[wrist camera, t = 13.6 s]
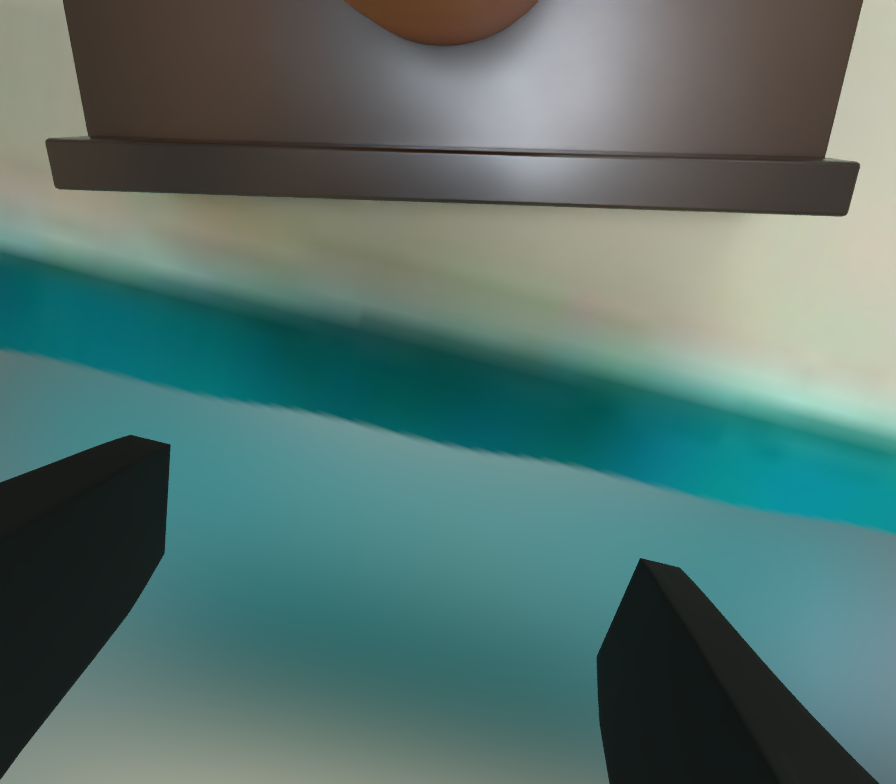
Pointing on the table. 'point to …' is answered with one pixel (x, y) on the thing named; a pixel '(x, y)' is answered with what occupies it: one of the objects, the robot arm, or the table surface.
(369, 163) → the shelf
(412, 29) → the can
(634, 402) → the table surface
